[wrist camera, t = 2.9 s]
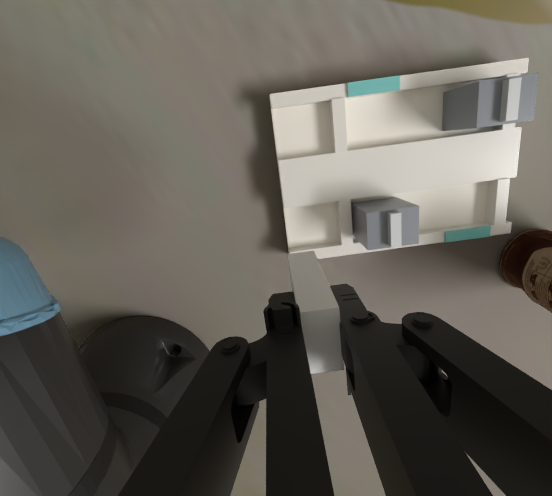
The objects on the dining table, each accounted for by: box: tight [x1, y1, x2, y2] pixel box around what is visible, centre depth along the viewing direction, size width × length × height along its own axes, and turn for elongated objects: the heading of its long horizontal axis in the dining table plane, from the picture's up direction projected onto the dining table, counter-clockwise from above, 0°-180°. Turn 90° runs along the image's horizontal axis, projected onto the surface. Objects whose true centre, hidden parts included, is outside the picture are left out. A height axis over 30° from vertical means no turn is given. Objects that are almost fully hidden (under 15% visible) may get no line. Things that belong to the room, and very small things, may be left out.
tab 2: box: [442, 73, 539, 131], centre depth 23 cm, size 4×3×5 cm
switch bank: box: [269, 58, 529, 259], centre depth 27 cm, size 20×14×3 cm
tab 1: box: [351, 197, 419, 250], centre depth 26 cm, size 4×3×5 cm
